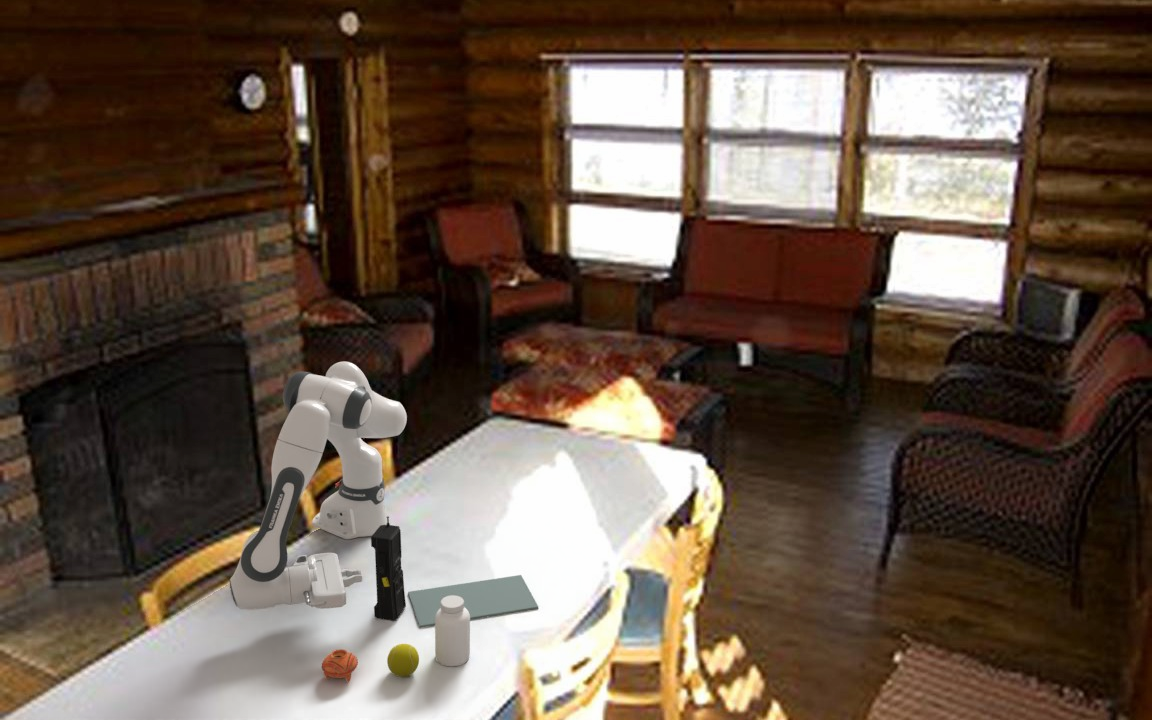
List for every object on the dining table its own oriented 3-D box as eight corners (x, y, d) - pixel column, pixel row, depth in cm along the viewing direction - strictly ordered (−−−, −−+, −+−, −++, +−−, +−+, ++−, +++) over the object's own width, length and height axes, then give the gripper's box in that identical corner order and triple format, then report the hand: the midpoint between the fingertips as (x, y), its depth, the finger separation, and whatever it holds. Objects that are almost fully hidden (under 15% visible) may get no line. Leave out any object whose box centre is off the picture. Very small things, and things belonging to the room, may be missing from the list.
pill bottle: (455, 671, 231) (455, 614, 226) (428, 660, 235) (427, 603, 230) (477, 654, 237) (476, 598, 233) (450, 643, 241) (449, 587, 237)
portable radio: (395, 624, 248) (392, 532, 240) (372, 621, 249) (368, 529, 241) (407, 607, 256) (404, 517, 248) (384, 604, 257) (381, 514, 249)
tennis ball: (420, 664, 234) (420, 637, 231) (417, 682, 227) (416, 656, 225) (390, 663, 233) (389, 637, 231) (385, 682, 227) (384, 655, 224)
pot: (327, 691, 223) (322, 662, 222) (321, 678, 230) (317, 650, 229) (363, 682, 226) (359, 652, 225) (356, 669, 233) (352, 641, 232)
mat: (419, 627, 247) (419, 625, 247) (408, 593, 262) (408, 591, 261) (538, 608, 257) (538, 606, 256) (521, 576, 271) (521, 574, 271)
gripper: (305, 595, 232) (366, 586, 237) (298, 551, 251) (355, 544, 255) (306, 619, 234) (367, 609, 239) (300, 574, 253) (356, 566, 257)
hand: (361, 575), depth 247 cm, fingers closed
